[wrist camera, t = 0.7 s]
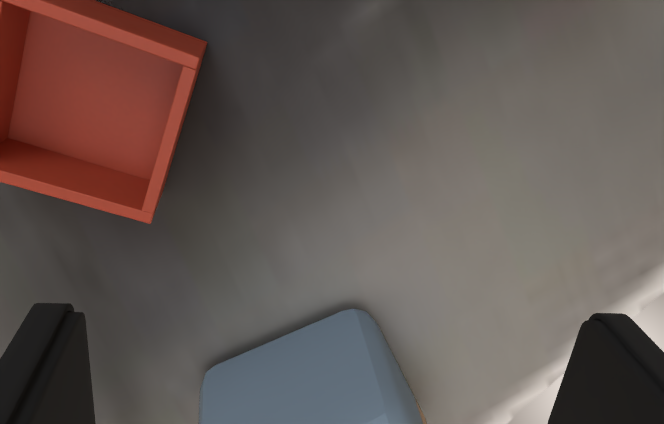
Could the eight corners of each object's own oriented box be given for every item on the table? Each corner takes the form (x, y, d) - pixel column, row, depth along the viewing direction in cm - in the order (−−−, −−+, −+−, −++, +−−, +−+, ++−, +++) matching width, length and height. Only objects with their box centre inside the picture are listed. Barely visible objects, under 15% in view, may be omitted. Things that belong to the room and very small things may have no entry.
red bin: (26, -26, 36) (-11, -19, 31) (207, 41, 39) (200, 57, 34) (-3, 141, 40) (-40, 170, 35) (163, 190, 43) (150, 224, 38)
